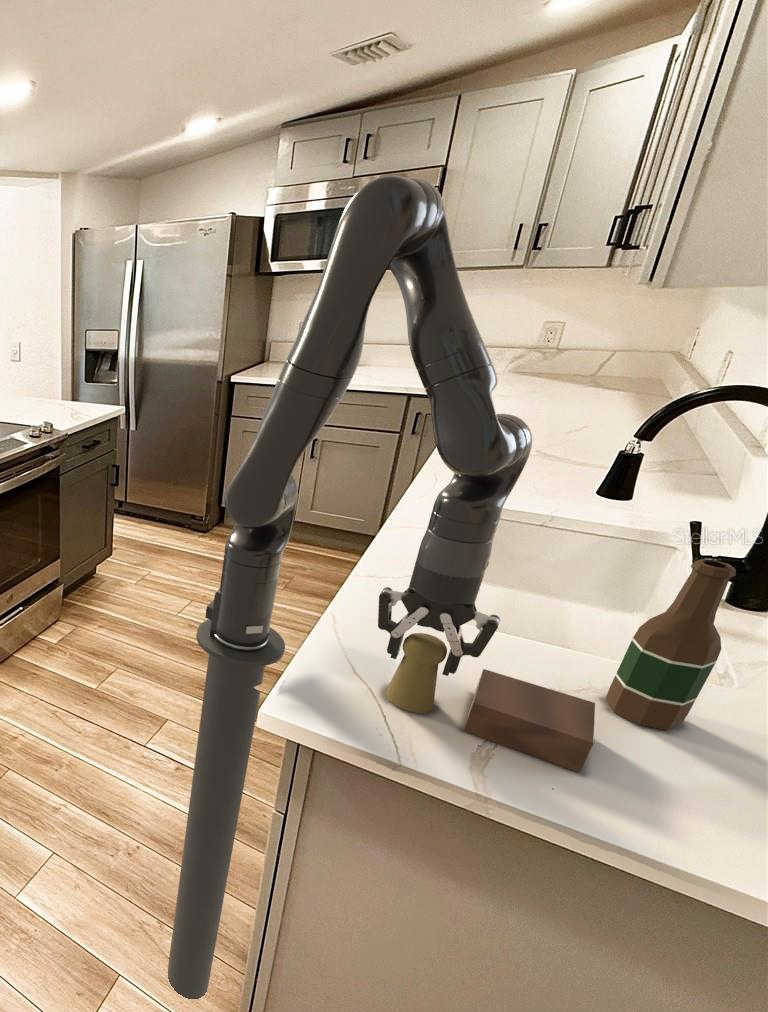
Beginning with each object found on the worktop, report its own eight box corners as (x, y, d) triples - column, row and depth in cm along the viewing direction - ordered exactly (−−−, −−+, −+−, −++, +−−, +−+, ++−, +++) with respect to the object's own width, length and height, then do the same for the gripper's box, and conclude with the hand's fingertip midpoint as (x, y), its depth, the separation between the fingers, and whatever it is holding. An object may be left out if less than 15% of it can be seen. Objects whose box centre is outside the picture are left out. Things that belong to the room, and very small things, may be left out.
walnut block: (463, 731, 86) (473, 702, 84) (473, 695, 93) (483, 668, 91) (579, 773, 78) (593, 743, 76) (581, 731, 85) (595, 702, 83)
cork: (376, 693, 94) (392, 633, 90) (402, 682, 96) (419, 623, 92) (416, 717, 89) (435, 655, 84) (442, 705, 91) (463, 643, 87)
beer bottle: (679, 740, 83) (764, 584, 73) (600, 712, 88) (669, 564, 78) (683, 712, 87) (763, 562, 77) (607, 688, 93) (673, 545, 83)
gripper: (382, 558, 85) (357, 658, 92) (516, 589, 76) (477, 697, 83) (394, 540, 90) (370, 636, 97) (522, 567, 81) (485, 671, 88)
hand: (419, 664), depth 90 cm, fingers open, 5 cm apart
